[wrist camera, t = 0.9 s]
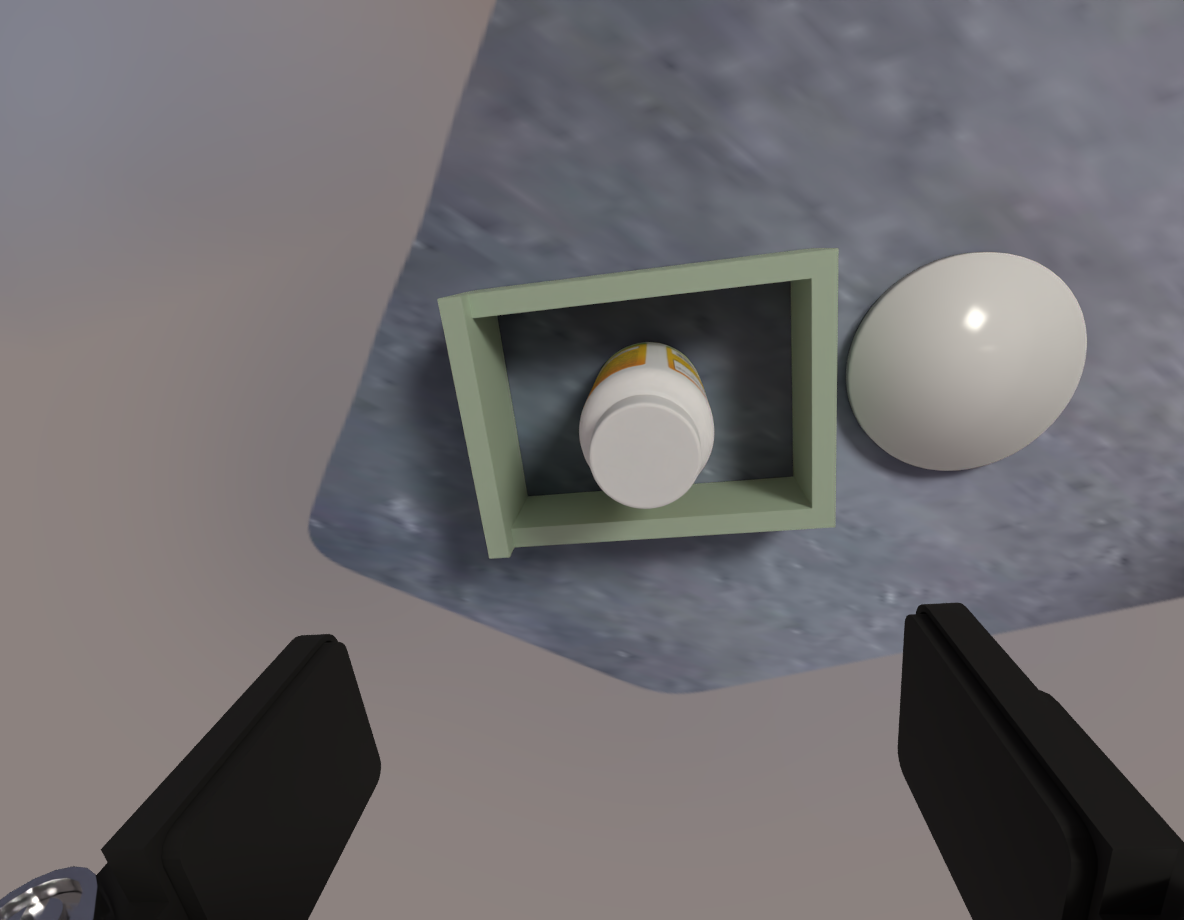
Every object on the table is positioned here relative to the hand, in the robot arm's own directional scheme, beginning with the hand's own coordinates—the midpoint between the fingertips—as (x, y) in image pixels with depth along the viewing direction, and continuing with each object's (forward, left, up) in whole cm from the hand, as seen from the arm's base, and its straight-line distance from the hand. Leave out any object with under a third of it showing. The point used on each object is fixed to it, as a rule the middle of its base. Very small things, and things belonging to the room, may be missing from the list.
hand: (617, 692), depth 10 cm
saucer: (-15, 0, -21) cm, 26 cm away
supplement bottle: (0, 0, -22) cm, 22 cm away
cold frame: (0, 0, -21) cm, 21 cm away
